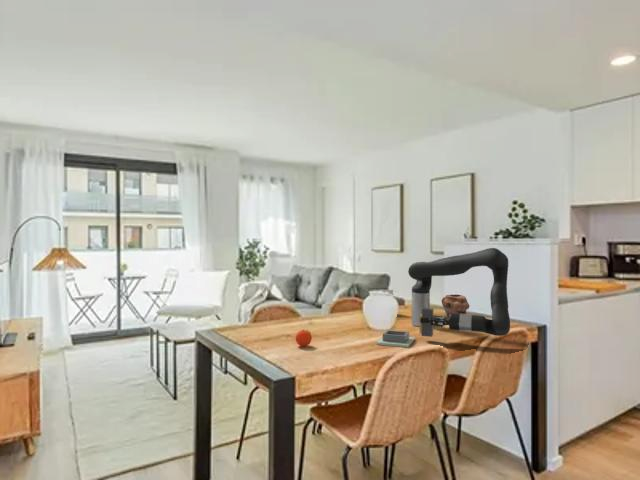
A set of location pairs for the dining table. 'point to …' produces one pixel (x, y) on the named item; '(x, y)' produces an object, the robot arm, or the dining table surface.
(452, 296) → the decorative planter
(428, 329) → the dark grey block
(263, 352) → the dining table surface
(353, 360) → the dining table surface
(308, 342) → the red rounded piece
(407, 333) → the dock
